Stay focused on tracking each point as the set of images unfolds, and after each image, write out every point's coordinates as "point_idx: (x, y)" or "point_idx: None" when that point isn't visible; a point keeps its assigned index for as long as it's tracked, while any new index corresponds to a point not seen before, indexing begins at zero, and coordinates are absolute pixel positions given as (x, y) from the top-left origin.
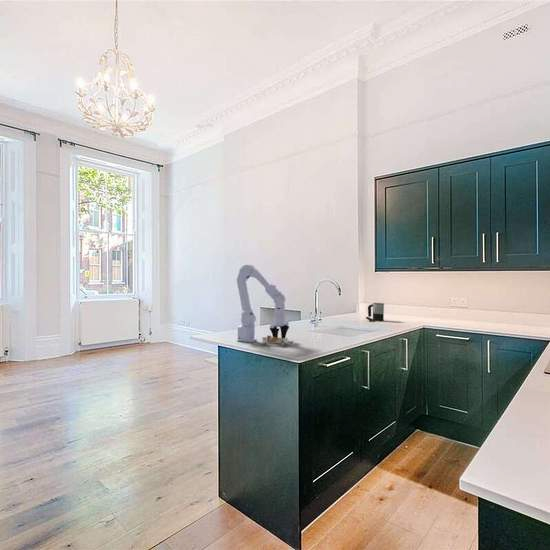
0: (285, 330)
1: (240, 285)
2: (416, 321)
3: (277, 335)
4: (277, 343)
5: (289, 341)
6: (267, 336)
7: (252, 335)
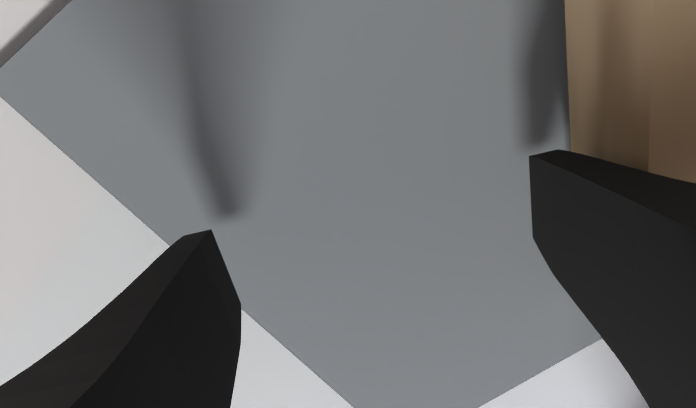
0: (118, 394)
1: None
2: None
3: (628, 189)
4: (556, 63)
5: (118, 94)
6: None
7: None
